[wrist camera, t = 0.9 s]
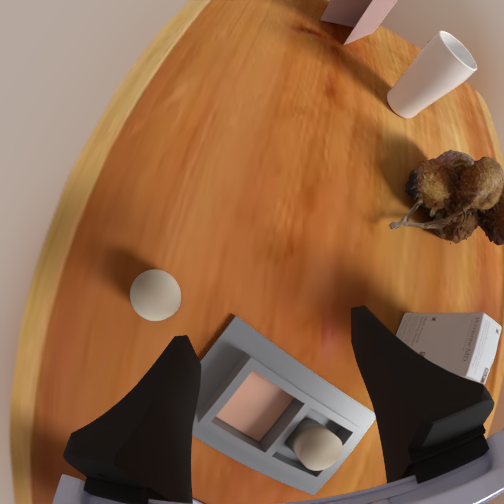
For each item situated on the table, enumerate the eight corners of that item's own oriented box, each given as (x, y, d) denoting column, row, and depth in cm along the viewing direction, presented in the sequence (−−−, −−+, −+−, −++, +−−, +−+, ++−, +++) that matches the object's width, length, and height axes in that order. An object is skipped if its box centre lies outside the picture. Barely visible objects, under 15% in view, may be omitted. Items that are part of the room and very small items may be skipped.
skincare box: (403, 311, 32) (483, 307, 20) (426, 324, 32) (503, 323, 21) (384, 361, 30) (464, 375, 19) (409, 371, 31) (486, 386, 19)
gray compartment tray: (312, 493, 26) (322, 505, 23) (159, 411, 25) (156, 422, 22) (375, 413, 29) (390, 420, 26) (235, 315, 28) (240, 316, 25)
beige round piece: (307, 457, 26) (324, 475, 22) (278, 442, 26) (293, 461, 22) (330, 428, 27) (350, 443, 23) (302, 412, 27) (320, 427, 23)
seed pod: (503, 287, 28) (527, 184, 27) (453, 243, 23) (481, 110, 22) (435, 264, 41) (460, 178, 40) (368, 224, 35) (401, 122, 34)
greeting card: (371, 29, 42) (409, -22, 27) (387, 55, 41) (432, 2, 26) (318, 17, 39) (351, -45, 25) (332, 43, 38) (373, -24, 24)
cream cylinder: (163, 327, 26) (159, 331, 22) (130, 299, 26) (120, 298, 22) (190, 294, 28) (190, 291, 23) (157, 266, 27) (151, 259, 23)
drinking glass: (377, 83, 38) (431, 22, 24) (410, 96, 39) (466, 44, 25) (385, 117, 37) (450, 55, 22) (420, 129, 38) (484, 78, 24)
